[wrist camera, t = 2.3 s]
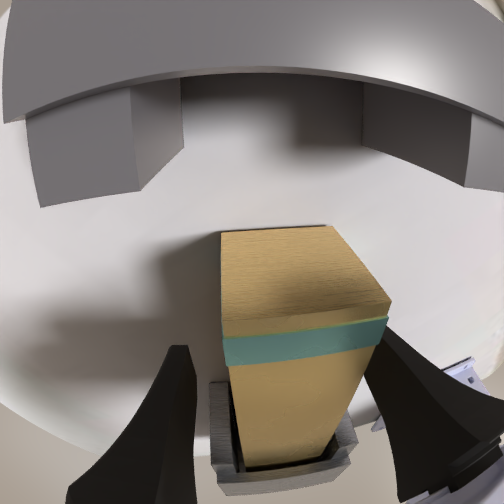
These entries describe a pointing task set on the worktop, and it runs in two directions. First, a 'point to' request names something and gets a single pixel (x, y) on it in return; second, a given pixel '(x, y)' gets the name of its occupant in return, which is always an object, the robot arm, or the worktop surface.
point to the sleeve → (241, 483)
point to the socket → (247, 61)
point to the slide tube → (295, 338)
